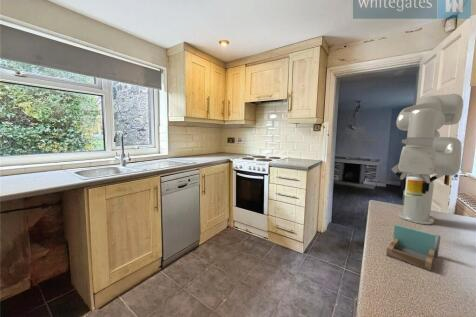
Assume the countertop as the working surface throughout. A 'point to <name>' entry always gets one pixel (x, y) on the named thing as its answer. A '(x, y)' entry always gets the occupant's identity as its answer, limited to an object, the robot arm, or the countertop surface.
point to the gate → (417, 239)
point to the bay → (410, 255)
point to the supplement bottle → (414, 185)
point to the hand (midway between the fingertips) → (413, 190)
